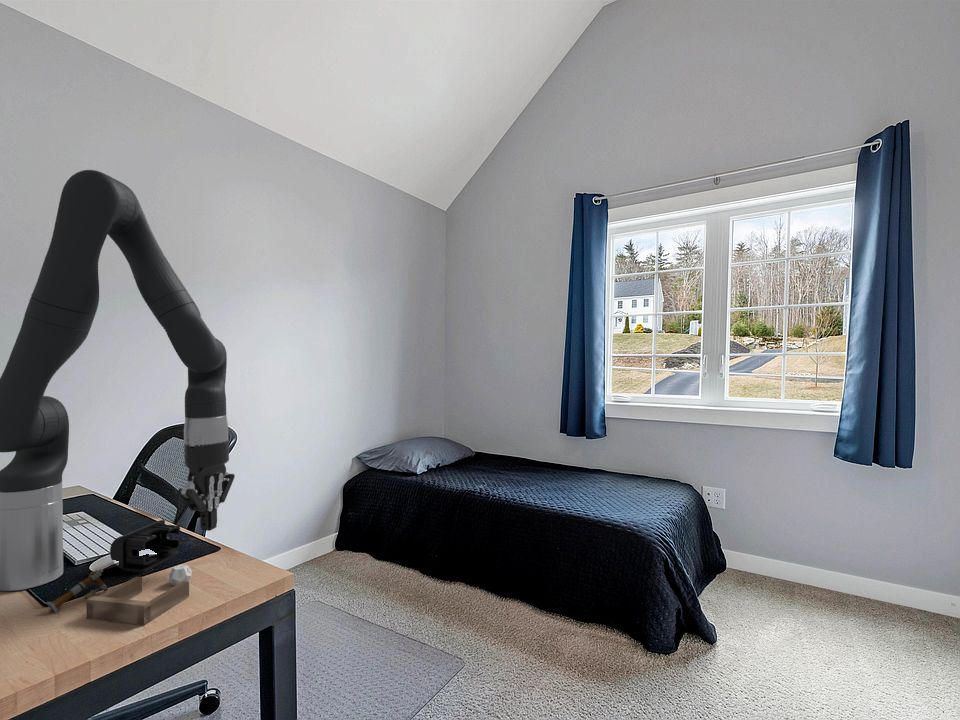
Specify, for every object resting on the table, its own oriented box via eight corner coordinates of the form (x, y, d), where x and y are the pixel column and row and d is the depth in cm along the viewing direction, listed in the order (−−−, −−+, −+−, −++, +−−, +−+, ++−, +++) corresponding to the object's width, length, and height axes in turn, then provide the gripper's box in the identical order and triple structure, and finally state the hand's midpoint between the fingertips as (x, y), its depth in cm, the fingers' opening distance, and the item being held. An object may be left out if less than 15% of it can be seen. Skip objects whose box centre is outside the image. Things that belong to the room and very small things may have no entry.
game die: (173, 579, 92) (173, 563, 92) (195, 578, 93) (195, 562, 93) (164, 588, 89) (164, 571, 89) (187, 587, 90) (187, 570, 90)
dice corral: (86, 618, 79) (86, 599, 79) (136, 590, 88) (136, 573, 88) (144, 625, 77) (144, 605, 77) (189, 596, 86) (189, 578, 86)
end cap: (152, 550, 106) (152, 518, 106) (182, 553, 105) (181, 520, 104) (109, 571, 96) (108, 535, 96) (141, 574, 95) (141, 538, 95)
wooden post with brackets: (115, 586, 88) (102, 566, 86) (64, 624, 82) (50, 604, 80) (110, 584, 89) (97, 564, 87) (59, 622, 82) (45, 601, 81)
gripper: (213, 433, 104) (215, 517, 105) (162, 445, 91) (164, 541, 92) (246, 434, 103) (248, 518, 103) (198, 446, 90) (201, 543, 90)
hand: (208, 529), depth 97 cm, fingers closed
